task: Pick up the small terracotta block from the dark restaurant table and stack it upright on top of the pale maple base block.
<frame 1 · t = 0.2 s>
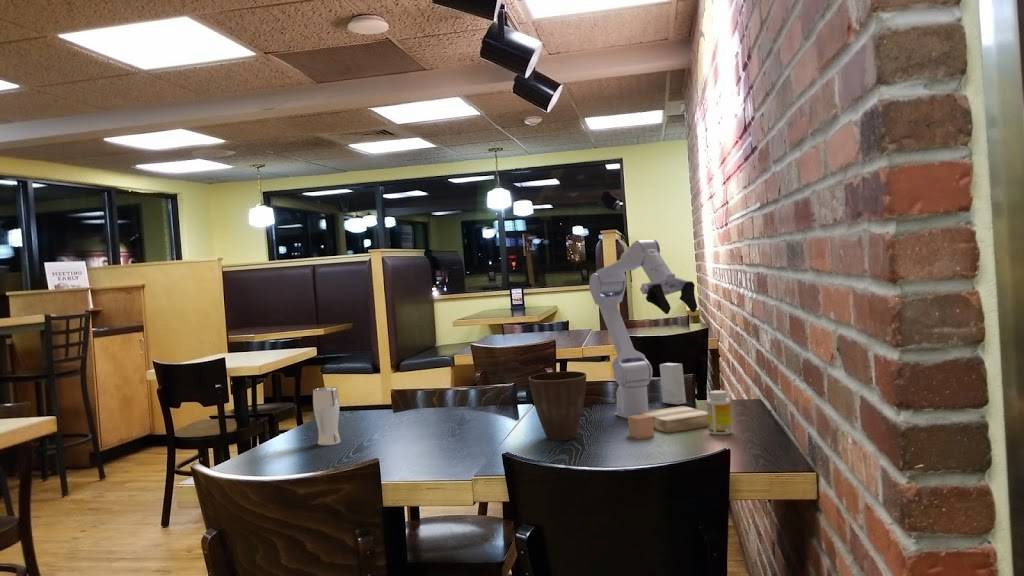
hand: (681, 310, 176), 31 cm above the table, tool tilted 45°, fingers open, 7 cm apart
plant pot: (561, 438, 183), on the table
maple base: (676, 424, 188), on the table
beer glass: (329, 443, 196), on the table
terracotta block: (641, 436, 178), on the table
skincare box: (674, 403, 218), on the table
supplement bottle: (720, 433, 175), on the table
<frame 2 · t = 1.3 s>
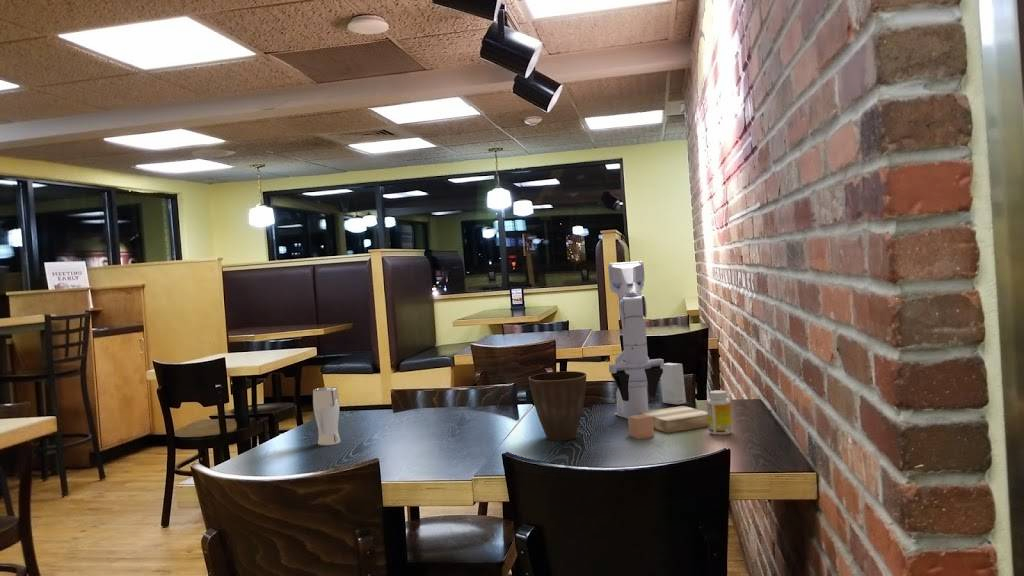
hand: (639, 398, 178), 9 cm above the table, tool pointing down, fingers open, 7 cm apart
nothing on the table moved.
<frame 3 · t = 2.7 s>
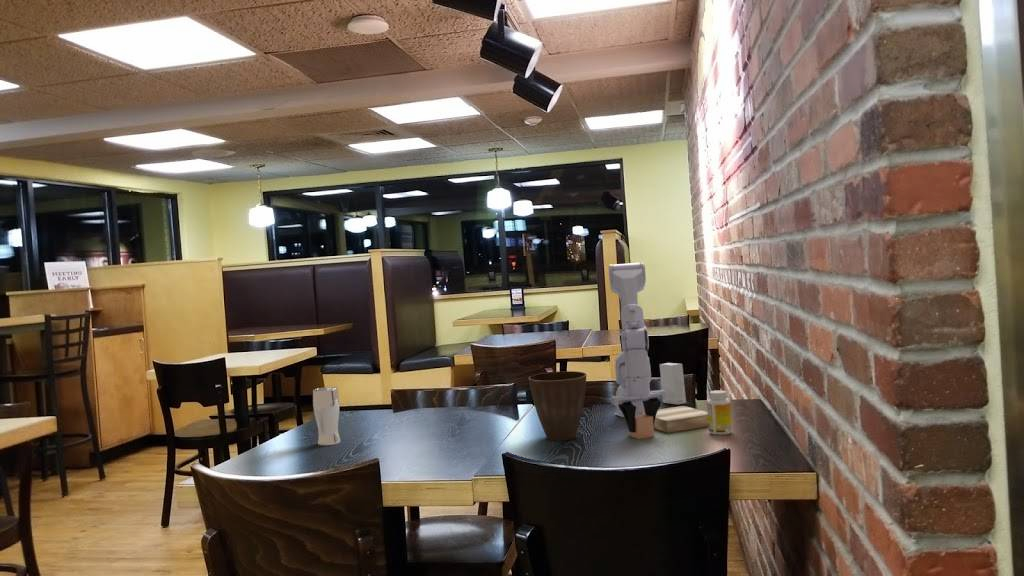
hand: (641, 430, 178), 1 cm above the table, tool pointing down, fingers closed on terracotta block, 4 cm apart
terracotta block: (641, 436, 178), on the table, touching gripper
everything else where it was.
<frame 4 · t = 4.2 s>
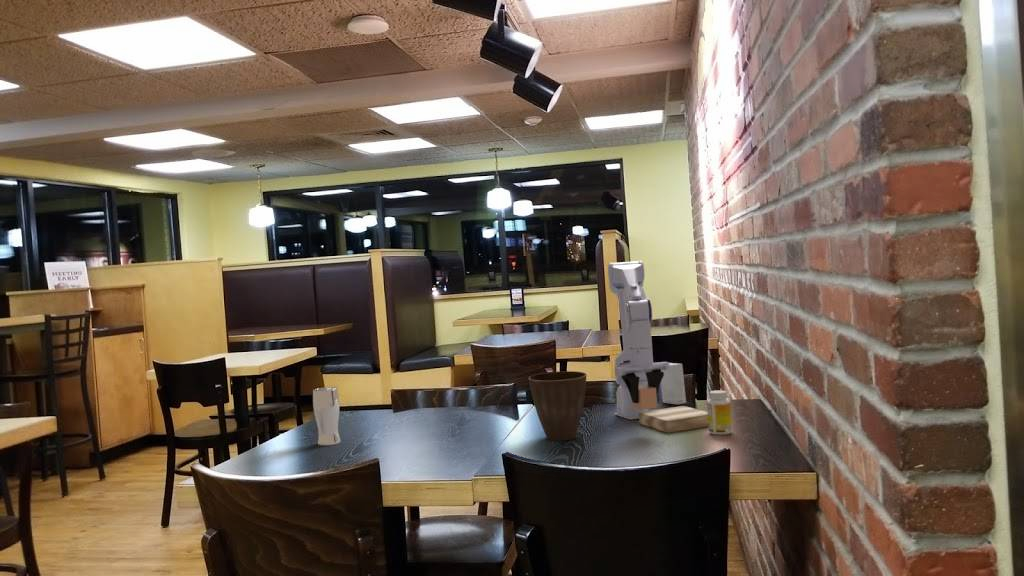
hand: (644, 401, 180), 8 cm above the table, tool pointing down, fingers closed on terracotta block, 4 cm apart
terracotta block: (644, 407, 180), point 7 cm above the table, touching gripper
everything else where it was.
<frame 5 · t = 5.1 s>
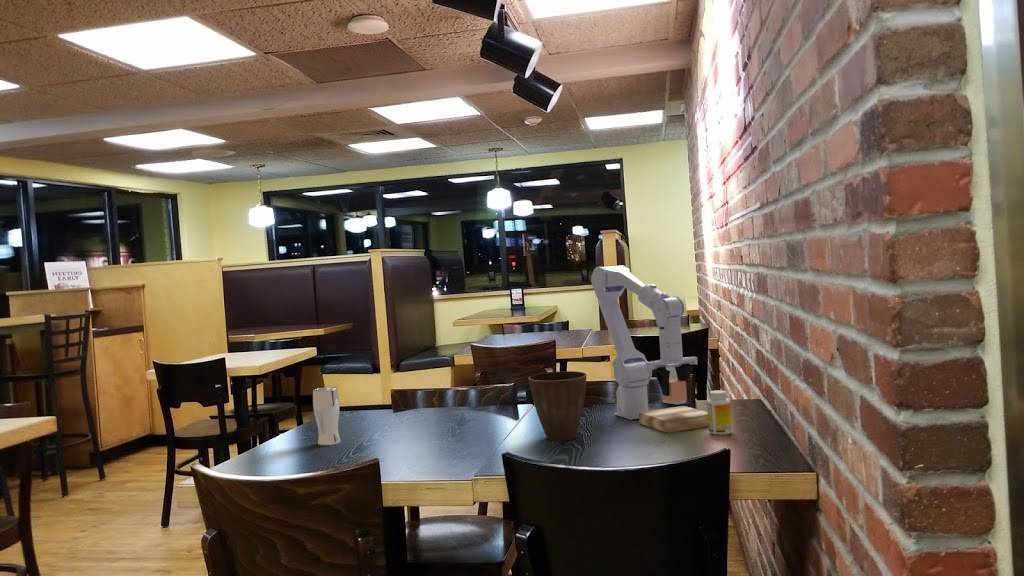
hand: (674, 394, 188), 8 cm above the table, tool pointing down, fingers closed on terracotta block, 4 cm apart
terracotta block: (674, 399, 188), point 7 cm above the table, touching gripper
everything else where it was.
when the fingers open (6 cm above the table, at t = 5.9 s): terracotta block drops 1 cm, resting on maple base.
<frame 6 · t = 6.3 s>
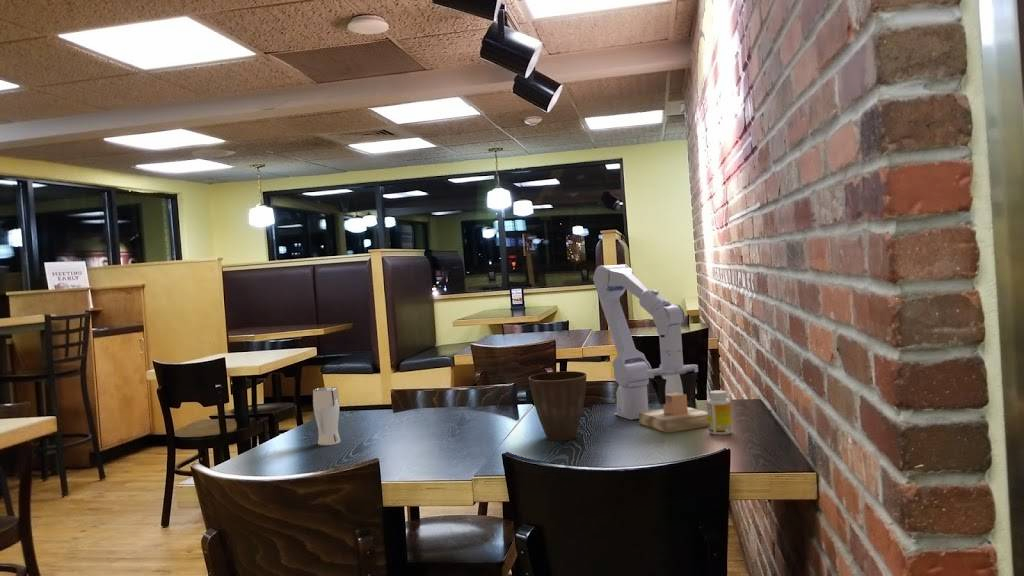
hand: (674, 402, 188), 6 cm above the table, tool pointing down, fingers open, 7 cm apart
terracotta block: (675, 413, 188), point 3 cm above the table, touching maple base
everything else where it was.
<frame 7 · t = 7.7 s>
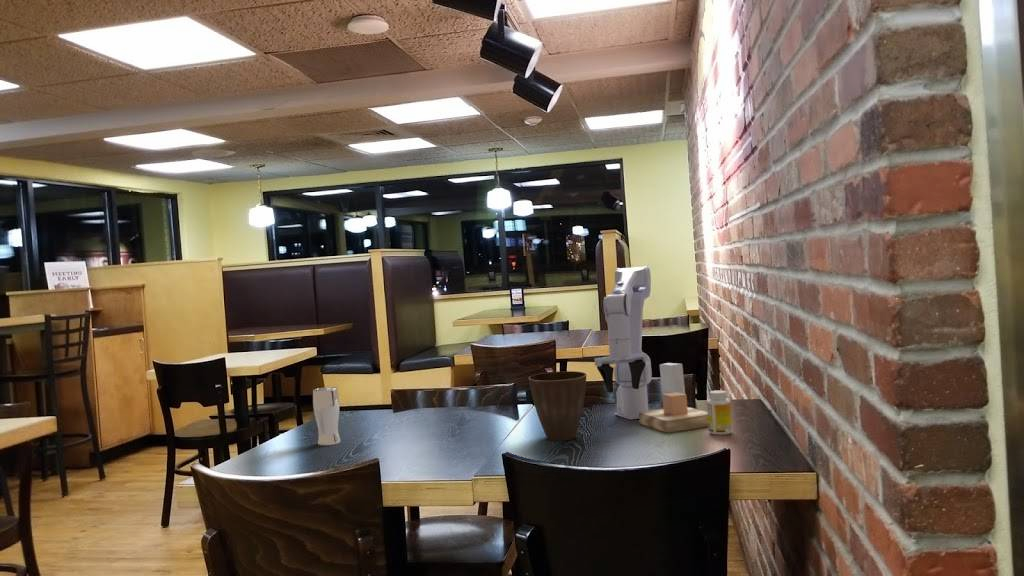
hand: (622, 390, 189), 10 cm above the table, tool pointing down, fingers open, 7 cm apart
nothing on the table moved.
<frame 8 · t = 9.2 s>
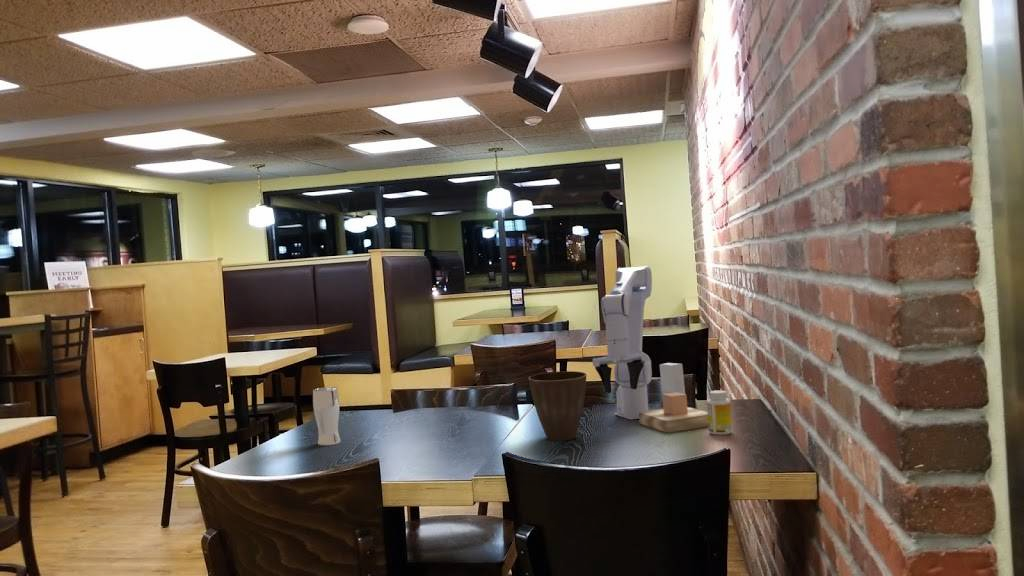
hand: (621, 390, 189), 10 cm above the table, tool pointing down, fingers open, 7 cm apart
nothing on the table moved.
at the end: terracotta block inside the target area on the maple base (0.1 cm from its centre), point 3.0 cm above the maple base's base; terracotta block tilted 0°; the gripper is holding nothing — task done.
